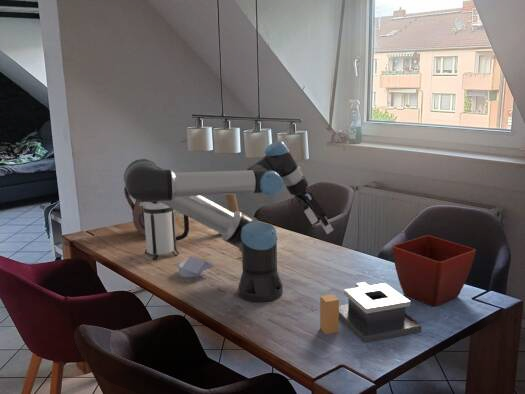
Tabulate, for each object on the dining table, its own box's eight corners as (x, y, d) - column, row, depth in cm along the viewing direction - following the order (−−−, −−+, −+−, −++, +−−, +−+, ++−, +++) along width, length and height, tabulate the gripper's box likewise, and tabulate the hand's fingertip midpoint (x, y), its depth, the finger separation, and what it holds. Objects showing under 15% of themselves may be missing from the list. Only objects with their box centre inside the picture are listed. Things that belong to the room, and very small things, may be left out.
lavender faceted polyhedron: (215, 274, 196) (192, 266, 205) (214, 257, 195) (191, 250, 203) (197, 282, 190) (174, 273, 198) (196, 264, 188) (173, 256, 197)
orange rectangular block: (325, 334, 150) (325, 301, 148) (320, 328, 154) (320, 296, 151) (338, 332, 151) (338, 299, 149) (332, 325, 155) (332, 294, 152)
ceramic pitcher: (169, 238, 240) (165, 185, 234) (122, 240, 239) (118, 186, 233) (174, 227, 257) (171, 177, 251) (131, 228, 256) (127, 178, 250)
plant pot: (474, 297, 171) (477, 248, 167) (437, 314, 160) (440, 262, 156) (425, 280, 186) (427, 234, 182) (388, 294, 176) (390, 246, 172)
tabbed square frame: (364, 342, 145) (365, 314, 143) (333, 312, 163) (333, 286, 161) (421, 331, 150) (422, 304, 148) (385, 303, 168) (385, 278, 166)
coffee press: (171, 262, 209) (166, 189, 202) (136, 258, 215) (130, 187, 207) (190, 248, 225) (186, 180, 218) (157, 245, 230) (152, 178, 223)
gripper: (316, 180, 177) (345, 229, 184) (290, 169, 200) (316, 213, 207) (299, 193, 176) (328, 242, 183) (274, 180, 199) (301, 224, 206)
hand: (322, 227), depth 195 cm, fingers open, 13 cm apart
